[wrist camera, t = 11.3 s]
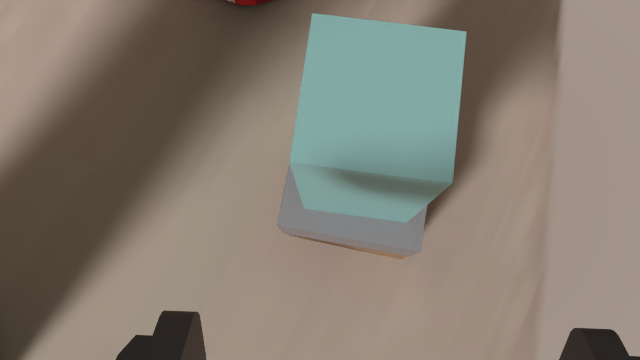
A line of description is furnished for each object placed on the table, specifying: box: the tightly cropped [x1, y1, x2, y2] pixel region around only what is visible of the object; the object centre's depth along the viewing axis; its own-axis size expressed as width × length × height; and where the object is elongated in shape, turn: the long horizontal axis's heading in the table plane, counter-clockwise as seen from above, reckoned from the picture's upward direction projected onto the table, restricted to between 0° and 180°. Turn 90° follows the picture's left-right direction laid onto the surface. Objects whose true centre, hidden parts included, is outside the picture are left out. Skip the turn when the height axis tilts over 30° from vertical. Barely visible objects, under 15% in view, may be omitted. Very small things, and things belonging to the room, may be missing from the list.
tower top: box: [277, 164, 427, 256], centre depth 29 cm, size 7×7×4 cm
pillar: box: [289, 13, 467, 222], centre depth 22 cm, size 5×5×10 cm
